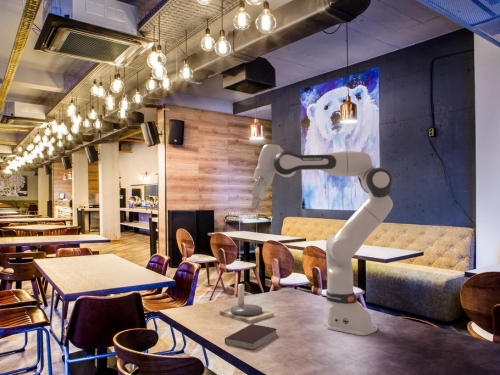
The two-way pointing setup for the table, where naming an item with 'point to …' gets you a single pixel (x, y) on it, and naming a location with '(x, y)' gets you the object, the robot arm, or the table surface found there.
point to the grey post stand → (244, 305)
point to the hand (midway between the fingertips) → (254, 207)
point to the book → (251, 336)
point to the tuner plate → (247, 316)
